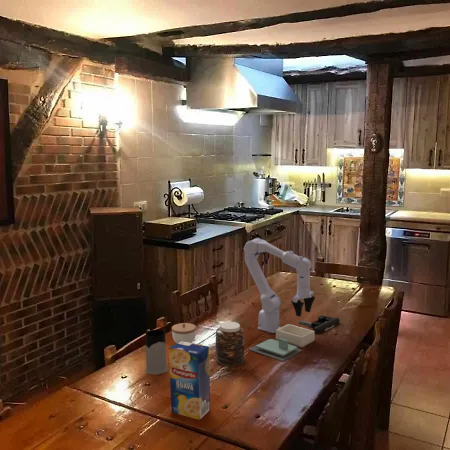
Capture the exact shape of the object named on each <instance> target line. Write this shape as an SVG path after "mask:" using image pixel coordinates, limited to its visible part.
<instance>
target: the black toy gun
mask: <svg viewBox="0 0 450 450" xmlns="http://www.w3.org/2000/svg"><path fill="white" fill-rule="evenodd" d="M340 322H341V319H340V318H338V317H331V316H326V315H319V316H318V317H317V320H315V321H313V322H310V321H306V320H298V324H299V325H302V326H306V327H310V328H311V329H312V330H313V331H315V334H319V333H322V332H326V331H328V330H330V329H333V328H334V327H335V326H336V325H338V324H340Z"/></svg>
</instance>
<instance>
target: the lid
mask: <svg viewBox="0 0 450 450" xmlns="http://www.w3.org/2000/svg"><path fill="white" fill-rule="evenodd" d="M255 346H256V347H257V348H260V349H261V350H264V351H267V352H270V353H273V354H276V355H280V356H285V355H286V354H288V353H290V352H292V351H294V350H295V349H297V348H298V349H299V346H296V345H292V344H289V343H288V340H286V339H283V338H279V340H276V339H273V338H269V339H266V340H264V341H262V342H260V343H258V344H256V345H255Z"/></svg>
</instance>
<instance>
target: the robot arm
mask: <svg viewBox="0 0 450 450" xmlns="http://www.w3.org/2000/svg"><path fill="white" fill-rule="evenodd" d="M243 251H244V262H245V264H246V267H247V269H248V271H249V273H250V275H251V277H252V279H253V282H254V283H255V285H256V287H257V290H258V292H259V294H260V299H259V300H260V302H261V310H260V311H259V313H258V327H257V330H260V331H264V332H266V333H267V332H268V333H270V334H274V333H275V334H276V330H277V329H279V328H281V327H282V326H280V307H281V304H282V301H281V300H282V299H281V297H279V295H277V294H276V293H277V292H275V290H272V289H271V287H270V285H269V282H268V280H267V278H266V276H265V274H264V272H263V270H262V268H261V265H260V264H259V262H258V258H259V255H260V253H267V254H270V255H272V256H275V257H277V258H279V259H280V260H281V261H282V263H283V264H286V265H288V266H290V267H292V268H294V269H295V270H296V272H297V276H296V277H297V278H296V294H295V295H294V296H293V297H292V300H291V302H290V303H291V305H292V306H293V308H294V311H295V316H296V317H301V316H302V310H303V307H304V311H305V312H307V313H310V312H311V310H312V306H313V303H314V301H315V299H316V297H315V296H314V294H315V293H314V291H313V290H311V270H310V269H312V264H313V263H312V260H311V259H309V258H308V257H303V256H302V255H300V256H299V255H298V254H295V253H294V251H292V250H287V251H284V250H282V249H280V248H278V247H276V246H274V245H273V244H271V243H269V242H268V241H267V240H265V239H261V237H256V238H253V239H252V240H247V242H246V243H245V244H244V246H243ZM301 300H303V301H301Z"/></svg>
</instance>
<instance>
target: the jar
mask: <svg viewBox="0 0 450 450" xmlns="http://www.w3.org/2000/svg"><path fill="white" fill-rule="evenodd" d="M215 362H216V363H217V364H219V365H220V366H223V367H238V366H240V365H243V364H244V362H245V331H244V329H243V328H242V327H241V325H240V324H239V322H236V321H224V322H221V323H220V324H219V327H217V329H216V330H215Z"/></svg>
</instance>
